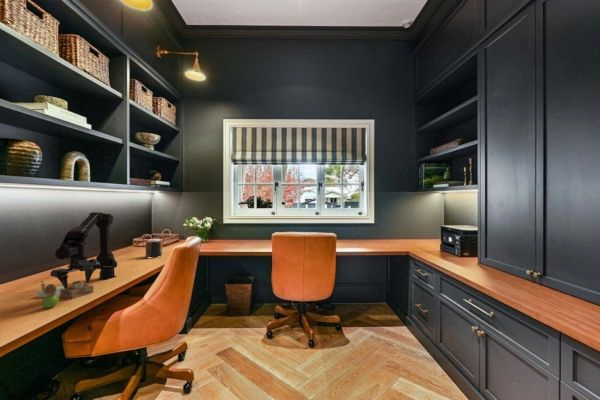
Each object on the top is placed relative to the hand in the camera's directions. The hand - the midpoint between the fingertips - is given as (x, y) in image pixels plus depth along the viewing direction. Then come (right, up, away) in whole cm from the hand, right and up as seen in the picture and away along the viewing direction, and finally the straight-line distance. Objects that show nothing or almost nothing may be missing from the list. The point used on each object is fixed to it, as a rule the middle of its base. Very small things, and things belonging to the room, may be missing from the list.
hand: (77, 285), depth 125 cm
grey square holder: (0, -5, 0) cm, 4 cm away
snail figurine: (+1, -5, -15) cm, 16 cm away
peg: (0, -5, 0) cm, 5 cm away
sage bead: (-13, -5, 0) cm, 13 cm away
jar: (-11, -5, +83) cm, 84 cm away
